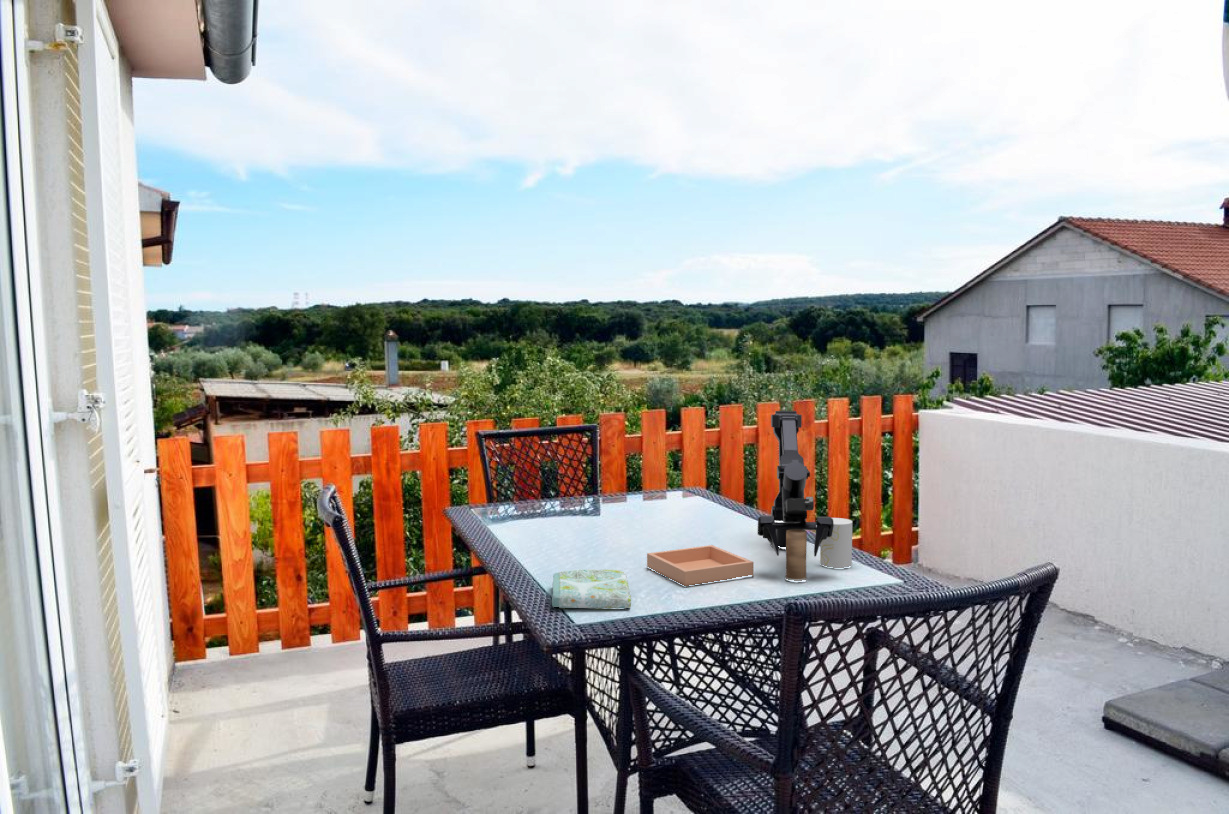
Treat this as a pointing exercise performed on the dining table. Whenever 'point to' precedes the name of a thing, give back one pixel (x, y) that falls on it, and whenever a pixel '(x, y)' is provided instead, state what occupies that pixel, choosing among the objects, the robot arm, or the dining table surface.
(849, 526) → the light grey cylinder
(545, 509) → the dining table surface
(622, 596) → the towel
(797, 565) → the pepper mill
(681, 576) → the bin
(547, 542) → the dining table surface
